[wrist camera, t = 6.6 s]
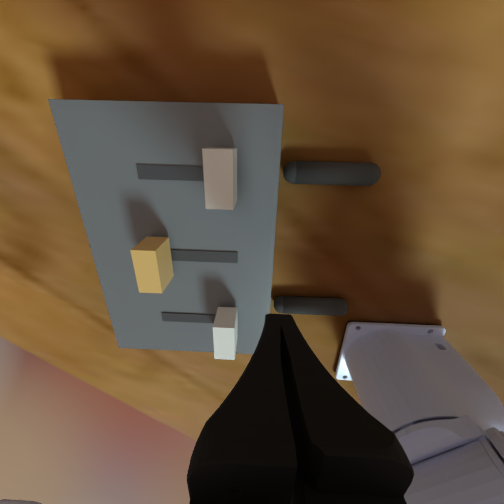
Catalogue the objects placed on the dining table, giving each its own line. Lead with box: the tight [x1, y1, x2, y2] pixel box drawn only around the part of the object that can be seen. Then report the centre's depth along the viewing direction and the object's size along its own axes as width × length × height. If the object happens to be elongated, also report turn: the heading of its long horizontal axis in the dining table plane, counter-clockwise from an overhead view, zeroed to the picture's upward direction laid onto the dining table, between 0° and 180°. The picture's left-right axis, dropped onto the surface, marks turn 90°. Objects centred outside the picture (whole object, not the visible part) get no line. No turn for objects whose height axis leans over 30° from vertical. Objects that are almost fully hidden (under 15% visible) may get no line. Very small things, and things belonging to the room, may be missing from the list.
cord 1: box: [284, 161, 381, 186], centre depth 18 cm, size 7×2×2 cm, turn 89°
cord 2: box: [274, 296, 348, 316], centre depth 23 cm, size 7×2×2 cm, turn 89°
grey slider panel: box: [48, 99, 284, 354], centre depth 20 cm, size 14×20×3 cm
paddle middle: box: [130, 236, 174, 293], centre depth 17 cm, size 2×3×2 cm, turn 179°
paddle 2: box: [213, 307, 238, 360], centre depth 19 cm, size 2×3×2 cm, turn 179°
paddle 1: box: [202, 148, 237, 210], centre depth 14 cm, size 2×3×2 cm, turn 179°
